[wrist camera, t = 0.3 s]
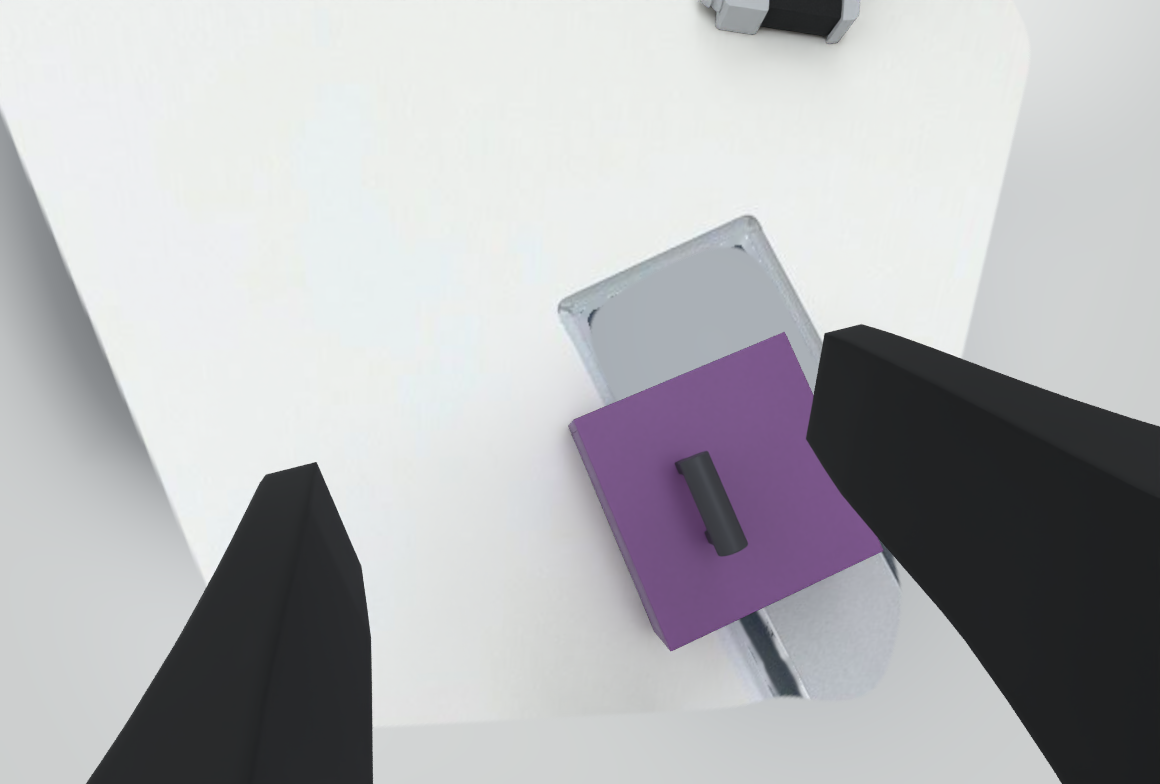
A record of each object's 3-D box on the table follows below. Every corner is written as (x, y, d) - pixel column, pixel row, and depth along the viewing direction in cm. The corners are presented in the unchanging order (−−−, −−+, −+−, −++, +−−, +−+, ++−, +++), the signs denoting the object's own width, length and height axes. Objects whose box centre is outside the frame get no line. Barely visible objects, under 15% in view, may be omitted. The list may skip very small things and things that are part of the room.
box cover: (781, 333, 38) (814, 316, 34) (878, 549, 37) (925, 559, 33) (572, 420, 37) (579, 413, 32) (668, 648, 36) (689, 673, 31)
